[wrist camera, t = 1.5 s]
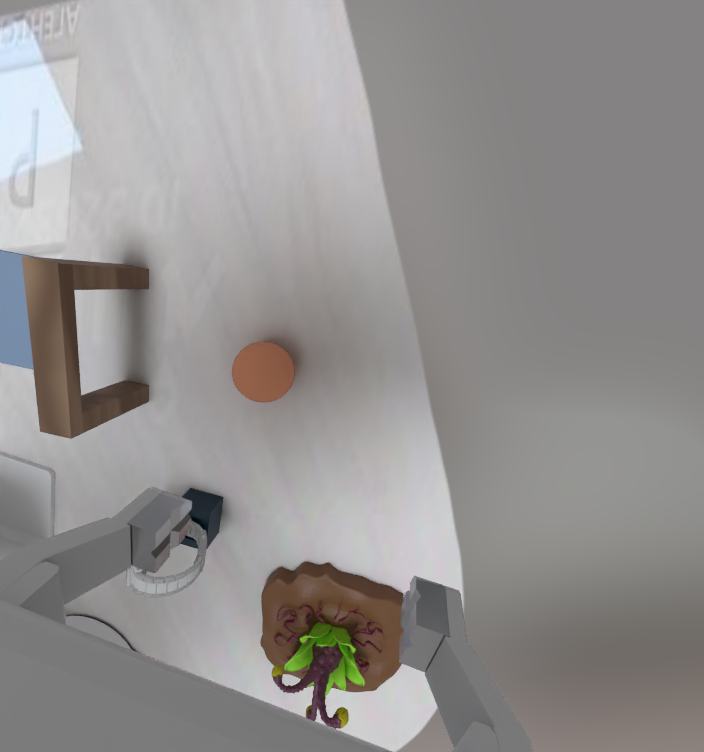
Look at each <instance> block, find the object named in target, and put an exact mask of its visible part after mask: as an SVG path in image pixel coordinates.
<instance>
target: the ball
mask: <svg viewBox="0 0 704 752" xmlns="http://www.w3.org/2000/svg"><path fill="white" fill-rule="evenodd" d="M294 376H295V369H294V364H293V361H292V359H291V357H290V356H289V354H288V353H287V352H286V351H285V350H284V349H283V348H281V347H280V346H278V345H276V344H274V343H270V342H257V343H253V344H250V345H248V346H247V347H245V348H244V349H242V350H241V351H240V353H239V354H238V355H237V356H236V358H235V360H234V363H233V367H232V377H233V381H234V384H235V386H236V388H237V389H238V390H239V392H240V393H241V394H242V395H244V396H245V397H246V398H248V399H250V400H253V401H256V402H271V401H274V400H277V399H279V398H280V397H282V396H283V395H284V394H286V393H287V391H288V390H289V389H290V387H291V385H292V383H293V380H294Z"/></svg>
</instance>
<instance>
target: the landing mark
mask: <svg viewBox="0 0 704 752" xmlns="http://www.w3.org/2000/svg"><path fill="white" fill-rule="evenodd" d="M22 256H25V257H31V256H26V255H21V254H15V253H10V252H5V251H0V362H1V363H5V364H10V365H15V366H19V367H24V368H29V369H33V370H34V368H33V359H32V349H31V340H30V331H29V321H28V312H27V302H26V293H25V284H24V274H23V265H22Z"/></svg>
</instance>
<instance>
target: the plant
mask: <svg viewBox="0 0 704 752" xmlns="http://www.w3.org/2000/svg"><path fill="white" fill-rule="evenodd" d="M261 601H262V614H263V635H262V638H261V646H262V647H263V649H264V651H265V654H266V656H267V658H268V660H269V661H270V662H271V663H272V664H273V665H274V668H273V670H272V677H273V680H274V682H275V683H276V684H277V685H278V687H280V690H283V692H287V693H295V692H299V691H300V690H303V689H304V688H307V686H308V687H310V686H314V691H313V698H312V705H310V706H308V707H307V709H306V718H308V719H310V720H313V721H315V719H316V716H317V707H318V709H319V710H320V715H321V719H322V720H323V721H324V722H325V724H326V725H327V726H330V727H333V728H334V729H336V728H340V729H341V727H342V728H343V727H344V726H345V725H346V724H347V722H348V710H346V709H345V708H343V707H341V708H339V709H337V711H336V712H335V713H336V714H334V716H333V717H332V718H329V717H328V716H327V712H326V705H325V696H326V695H327V694H328V693H329V691H330V689H331V688H336V689H340V690H343V691H348V692H364V691H374V690H376V689H377V688H378V687H379V686H380V685H381V684H383V683H384V682H385V681H386V680H388V679H389V678H390V677H392V676H393V675H394V674H395V673H396V671H397V670H398V669H399V667H400V666H401V664H402V663H400V662H399V639H400V636H401V634H402V632H403V629H402V627H401V624H400V617H401V608H402V603H403V594H402V593H400V592H398V591H397V590H395V589H393V588H392V587H390V586H387V585H382V584H378V583H374V582H372V581H370V580H368V579H366V578H364V577H362V576H358V575H353V574H349V573H344V572H341V571H339V570H337V569H336V568H334V567H333V566H332V565H331V564H330V563H326V564H324V565H315V564H313V563H310V562H304V563H302V564H301V565H300V566H299V567H298V568H297V569H296V570H294V571H289V570H287V569H285V568H283V567H280V568H278V569H277V570H275V571H274V572H273V573H272V574H271V575H270V577H269V578H268V580H267V582H266V585H265V587H264V589H263V592H262V600H261ZM283 674H290V675H293V676H296V677H298V678H300V679H301V680H300V682H299V683H297V684H296V685H294V686H290V685H288V686H285V685H284V684H282V675H283Z"/></svg>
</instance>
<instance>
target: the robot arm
mask: <svg viewBox="0 0 704 752" xmlns="http://www.w3.org/2000/svg"><path fill="white" fill-rule="evenodd" d="M191 509H192V501H190V500H188V499H185V498H182V497H179V496H177V495H174V494H171V493H169V492H166V491H163V490H160V489H157V488H155V487H151V488H148V489H147V490H145V491H144V492H143V493H142V494H141V495H140V496H138V497H137V498H136V499H135V500H134V501H132V502H131V503H130V504H129V505H128V506H126V507H125V508H124V509H123V510H122V511H121V512H119V513H118V514H117V515H116V516H115V517H113V518H112V519H111V518H105V519H102V520H99V521H96V522H94V523H91V524H88V525H85V526H82V527H79V528H76V529H73V530H70V531H67V532H65V533H62V534H59V535H56V536H53V537H50V538H47V539H44V540H41V541H38V542H35V543H33V544H30V545H27V546H24V547H21V548H18V549H16V550H15V551H13V552H12V553H11V554H9V555H8V556H6V557H5V558H4V559H2V560H1V561H0V752H392V751H390V750H387V749H385V748H382V747H379V746H377V745H374V744H372V743H369V742H367V741H364V740H361V739H359V738H356V737H354V736H351V735H349V734H346V733H344V732H341V731H338V730H336V729H333V728H331V727H328V726H326V725H323V724H320V723H318V722H315V721H313V720H310V719H308V718H305V717H302V716H300V715H297V714H295V713H292V712H290V711H287V710H284V709H282V708H279V707H277V706H274V705H272V704H269V703H267V702H264V701H261V700H259V699H256V698H254V697H251V696H249V695H246V694H243V693H241V692H238V691H236V690H233V689H231V688H228V687H225V686H223V685H220V684H218V683H215V682H213V681H210V680H208V679H205V678H202V677H200V676H197V675H195V674H192V673H189V672H187V671H184V670H182V669H179V668H177V667H174V666H171V665H169V664H166V663H164V662H161V661H159V660H156V659H153V658H151V657H148V656H146V655H143V654H141V653H138V652H135V651H133V650H132V649H131V648H130V647H129V645H128V644H127V643H126V641H125V640H124V639H123V638H122V637H121V636H120V635H119V634H118V633H117V632H116V631H114V630H113V629H111V628H110V627H108V626H107V625H105V624H103V623H101V622H99V621H97V620H94V619H91V618H88V617H83V616H66V614H65V607H64V604H66V603H68V602H70V601H71V600H73V599H75V598H77V597H79V596H80V595H82V594H84V593H86V592H88V591H89V590H91V589H93V588H95V587H97V586H98V585H100V584H102V583H104V582H106V581H107V580H109V579H111V578H113V577H115V576H116V575H118V574H120V573H122V572H124V571H125V570H127V569H129V568H131V566H134V567H137V568H140V569H143V570H146V571H149V572H152V573H156V572H157V571H158V569H159V568H160V567H161V566H162V565H163V563H164V562H165V561H166V560H167V559H168V557H169V555H170V549H172V548H174V547H176V546H178V545H179V544H180V543H181V542H182V540H183V539H184V538H185V536H186V534H187V532H188V530H189V528H190V524H191V517H190V515H189V514H188V512H189V511H190V510H191ZM400 624H401V627H402V629H403V632H402V634H401V636H400V639H399V662H400V663H402V664H405V665H407V666H410V667H412V668H415V669H417V670H420V671H423V672H425V676H426V678H427V681H428V683H429V686H430V688H431V691H432V693H433V696H434V698H435V701H436V703H437V706H438V708H439V711H440V713H441V716H442V719H443V721H444V724H445V726H446V729H447V731H448V734H449V736H450V739H451V741H452V744H453V746H454V750H453V751H452V752H533V748H532V743H531V740H530V738H529V737H528V735H527V734H526V732H525V730H524V729H523V727H522V725H521V724H520V722H519V721H518V719H517V717H516V716H515V714H514V712H513V711H512V709H511V708H510V706H509V704H508V703H507V701H506V700H505V698H504V696H503V695H502V693H501V691H500V690H499V688H498V687H497V685H496V683H495V682H494V680H493V678H492V677H491V675H490V674H489V672H488V670H487V669H486V667H485V665H484V664H483V662H482V661H481V659H480V657H479V656H478V654H477V652H476V651H475V649H474V648H473V646H472V645H469V644H468V643H467V636H466V629H465V622H464V615H463V608H462V601H461V594H460V592H459V591H458V590H455V589H453V588H450V587H447V586H443V585H441V584H438V583H435V582H432V581H429V580H426V579H423V578H420V577H417V576H414V577H413V578H412V580H411V582H410V591H407V592H406V594H405V597H404V599H403V603H402V608H401V617H400Z"/></svg>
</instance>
